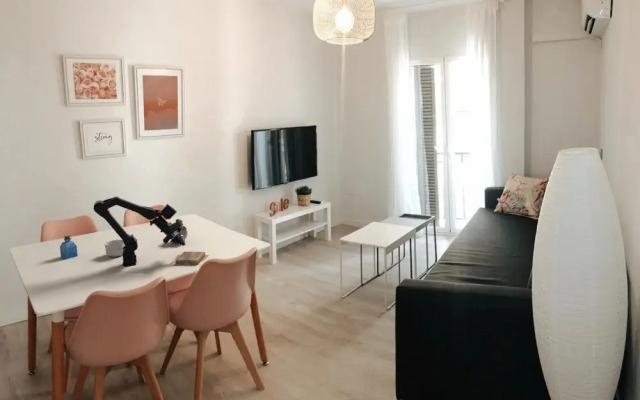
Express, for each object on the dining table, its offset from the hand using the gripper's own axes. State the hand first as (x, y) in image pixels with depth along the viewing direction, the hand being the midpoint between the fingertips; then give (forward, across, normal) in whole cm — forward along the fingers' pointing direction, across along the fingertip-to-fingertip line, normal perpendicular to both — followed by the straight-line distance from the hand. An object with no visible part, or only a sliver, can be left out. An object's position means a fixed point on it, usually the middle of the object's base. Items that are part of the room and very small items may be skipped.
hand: (184, 245), depth 268 cm
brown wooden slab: (+3, 0, +7) cm, 8 cm away
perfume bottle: (-42, +4, +55) cm, 69 cm away
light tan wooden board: (+8, +1, +5) cm, 9 cm away
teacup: (-24, +10, +37) cm, 45 cm away
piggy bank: (-4, +35, +17) cm, 39 cm away
